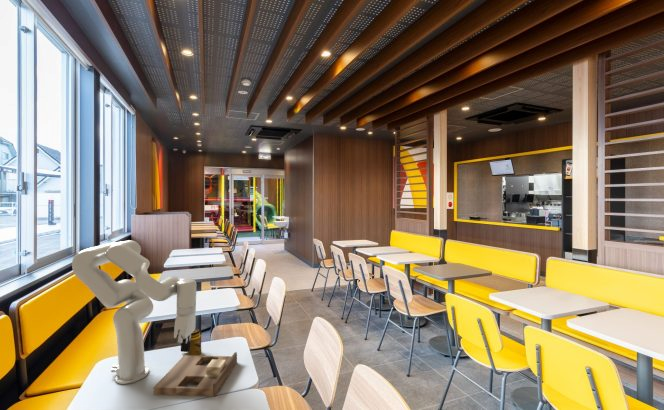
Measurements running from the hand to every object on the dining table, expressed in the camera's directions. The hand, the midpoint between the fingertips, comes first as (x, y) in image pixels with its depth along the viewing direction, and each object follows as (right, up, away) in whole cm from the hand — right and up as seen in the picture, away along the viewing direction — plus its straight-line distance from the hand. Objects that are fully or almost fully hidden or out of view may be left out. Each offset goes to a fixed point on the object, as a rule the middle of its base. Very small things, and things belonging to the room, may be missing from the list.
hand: (185, 350), depth 141 cm
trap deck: (+6, -12, 0) cm, 13 cm away
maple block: (+13, -9, 0) cm, 16 cm away
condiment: (-5, -11, +19) cm, 22 cm away
